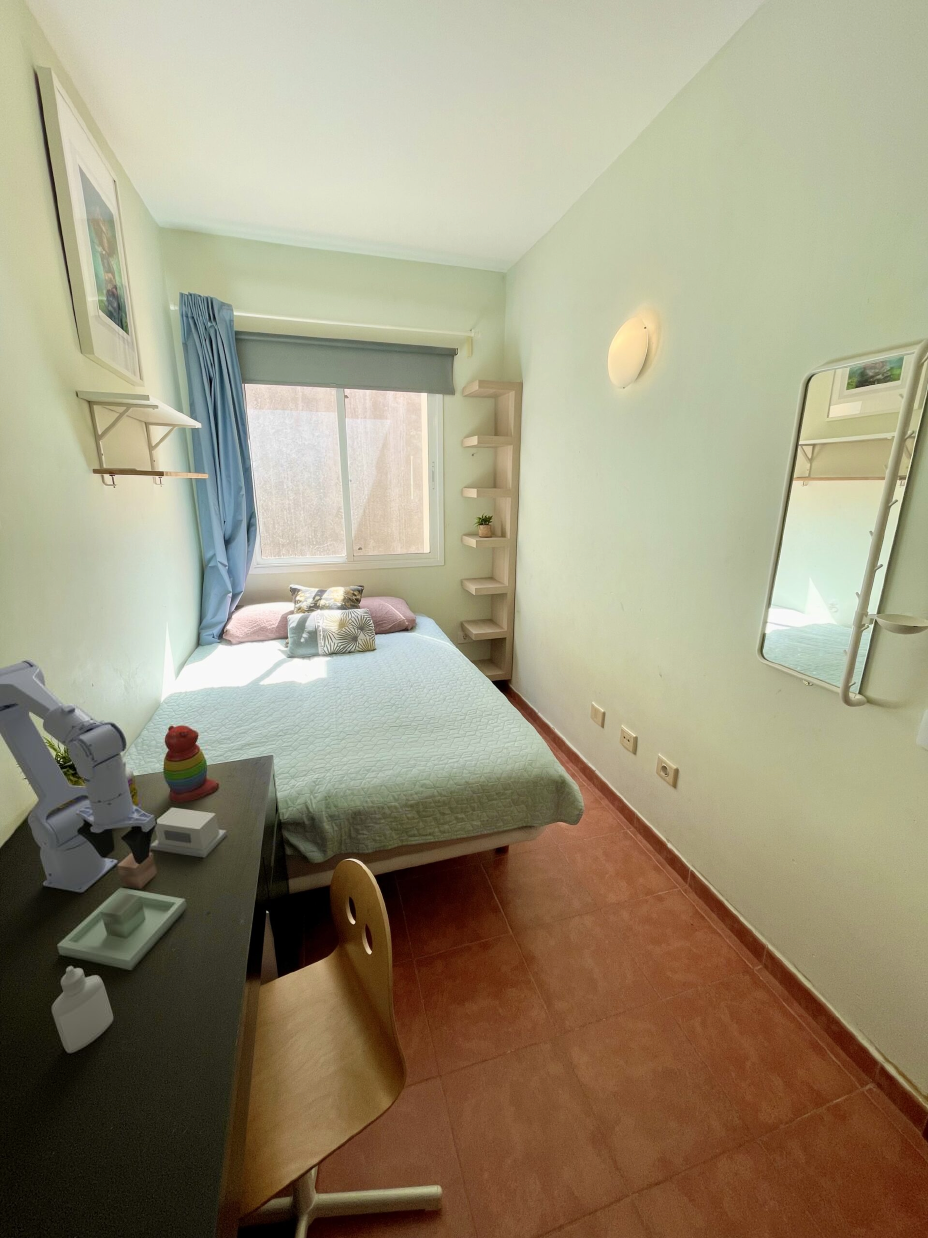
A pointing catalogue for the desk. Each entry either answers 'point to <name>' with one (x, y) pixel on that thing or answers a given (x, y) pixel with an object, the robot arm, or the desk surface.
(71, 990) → the eye dropper bottle
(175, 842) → the mounted unit
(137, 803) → the supplement bottle
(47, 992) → the desk surface
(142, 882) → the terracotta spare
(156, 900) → the sage tray
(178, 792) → the stacking bear
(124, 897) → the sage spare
